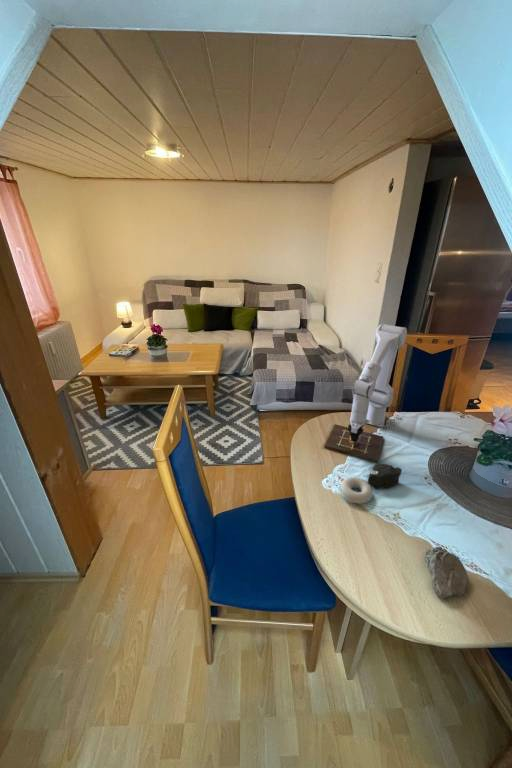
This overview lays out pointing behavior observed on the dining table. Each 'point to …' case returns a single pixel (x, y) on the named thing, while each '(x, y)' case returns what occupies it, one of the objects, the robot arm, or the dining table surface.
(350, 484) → the donut
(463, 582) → the brown rock
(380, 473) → the mineral
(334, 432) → the board
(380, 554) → the dining table surface
